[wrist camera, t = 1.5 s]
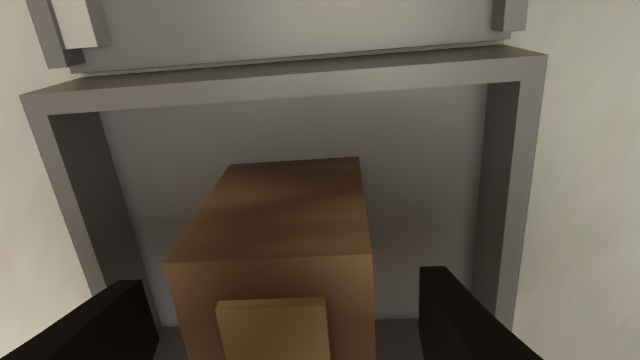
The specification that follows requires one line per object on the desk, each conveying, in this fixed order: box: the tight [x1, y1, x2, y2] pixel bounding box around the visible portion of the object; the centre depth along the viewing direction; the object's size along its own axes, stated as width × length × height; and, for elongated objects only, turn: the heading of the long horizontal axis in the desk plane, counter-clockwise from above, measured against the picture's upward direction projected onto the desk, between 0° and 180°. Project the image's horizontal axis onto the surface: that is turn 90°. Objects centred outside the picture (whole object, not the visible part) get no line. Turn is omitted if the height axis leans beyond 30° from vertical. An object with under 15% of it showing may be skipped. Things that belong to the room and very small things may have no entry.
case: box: [19, 44, 548, 360], centre depth 14 cm, size 14×11×3 cm
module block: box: [162, 156, 376, 360], centre depth 12 cm, size 4×4×6 cm
